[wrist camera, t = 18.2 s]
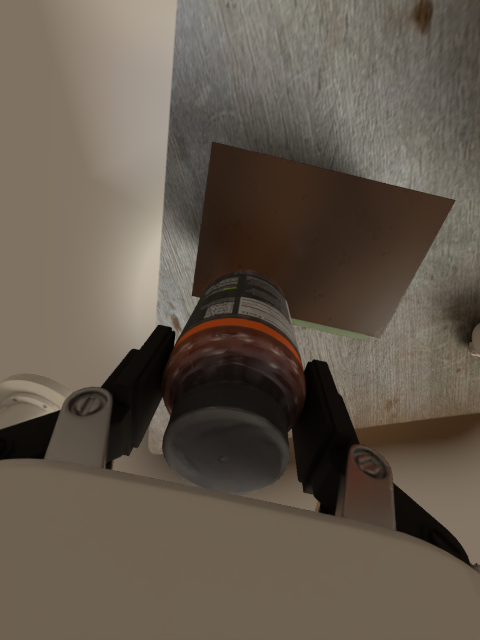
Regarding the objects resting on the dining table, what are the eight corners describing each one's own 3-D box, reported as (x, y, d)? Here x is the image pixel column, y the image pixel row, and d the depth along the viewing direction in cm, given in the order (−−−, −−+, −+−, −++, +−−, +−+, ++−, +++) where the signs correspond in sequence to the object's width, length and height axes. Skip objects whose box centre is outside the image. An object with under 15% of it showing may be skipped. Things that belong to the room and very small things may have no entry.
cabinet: (216, 258, 36) (191, 295, 24) (232, 159, 31) (212, 141, 18) (340, 287, 37) (380, 338, 24) (379, 195, 31) (455, 200, 19)
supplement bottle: (243, 358, 20) (224, 532, 10) (184, 306, 18) (89, 450, 8) (306, 310, 18) (363, 471, 8) (245, 246, 16) (217, 343, 6)
